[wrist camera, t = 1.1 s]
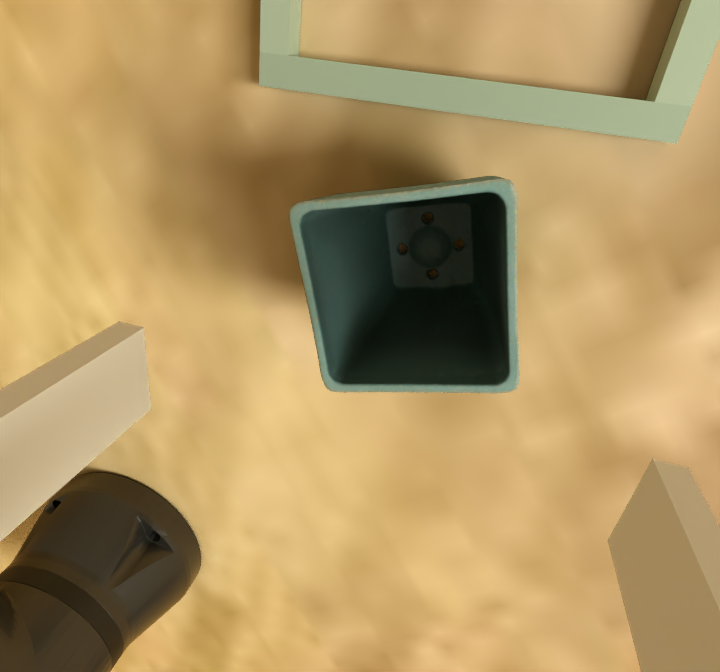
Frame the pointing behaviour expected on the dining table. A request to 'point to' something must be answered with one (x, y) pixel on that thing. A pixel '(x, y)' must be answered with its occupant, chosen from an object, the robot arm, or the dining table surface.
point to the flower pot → (413, 287)
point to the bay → (503, 100)
